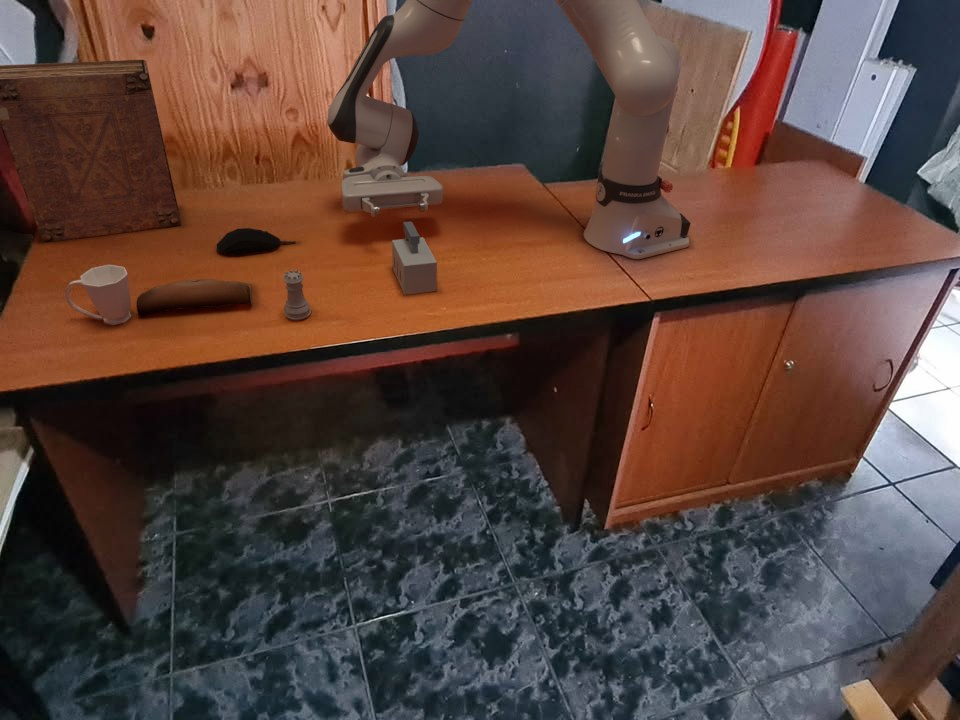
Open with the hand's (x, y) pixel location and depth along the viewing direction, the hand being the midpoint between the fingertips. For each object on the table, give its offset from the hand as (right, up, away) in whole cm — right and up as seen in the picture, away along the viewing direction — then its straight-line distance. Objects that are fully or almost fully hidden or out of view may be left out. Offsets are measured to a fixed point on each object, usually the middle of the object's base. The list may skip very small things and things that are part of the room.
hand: (400, 210), depth 132 cm
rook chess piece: (-16, -21, -14) cm, 30 cm away
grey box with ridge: (+3, -14, -3) cm, 14 cm away
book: (-59, -1, +8) cm, 60 cm away
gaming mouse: (-29, -7, +4) cm, 30 cm away
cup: (-46, -22, -18) cm, 54 cm away
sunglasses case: (-33, -19, -13) cm, 40 cm away
